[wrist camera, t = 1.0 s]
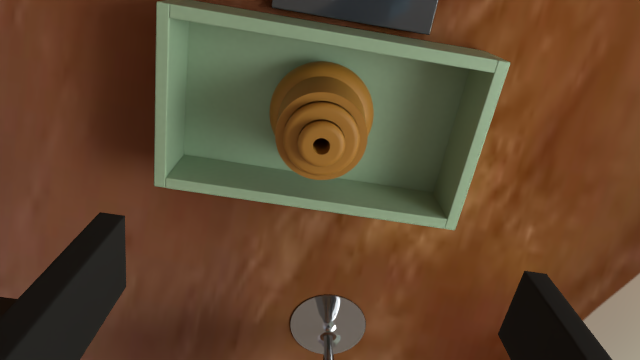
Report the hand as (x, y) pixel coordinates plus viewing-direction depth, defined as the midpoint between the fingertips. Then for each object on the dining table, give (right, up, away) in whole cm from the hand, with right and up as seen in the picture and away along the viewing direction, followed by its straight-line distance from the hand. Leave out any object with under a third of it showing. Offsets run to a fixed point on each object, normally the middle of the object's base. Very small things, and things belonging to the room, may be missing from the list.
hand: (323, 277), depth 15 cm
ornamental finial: (0, +9, +19) cm, 21 cm away
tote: (0, +9, +19) cm, 21 cm away
